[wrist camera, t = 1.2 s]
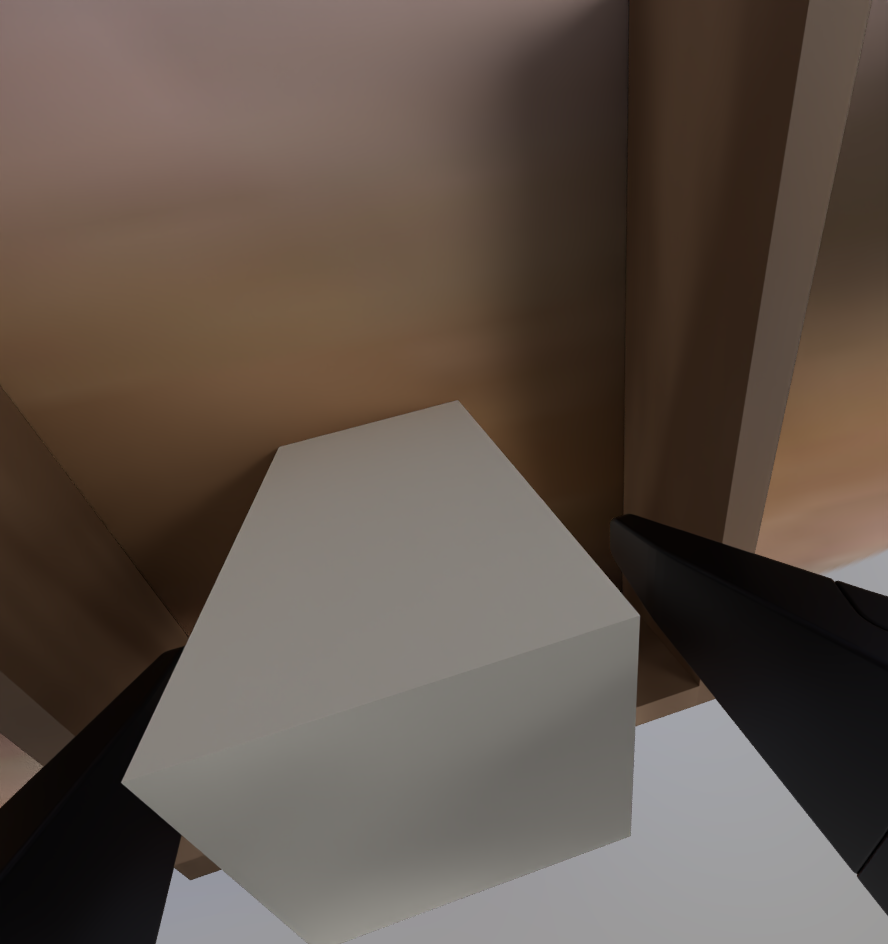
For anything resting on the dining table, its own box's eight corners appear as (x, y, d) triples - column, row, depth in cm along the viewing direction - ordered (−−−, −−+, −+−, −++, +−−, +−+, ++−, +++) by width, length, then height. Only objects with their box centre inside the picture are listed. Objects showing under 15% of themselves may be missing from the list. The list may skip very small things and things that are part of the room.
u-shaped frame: (675, -28, 8) (930, -277, 4) (644, 605, 16) (724, 695, 13) (-258, 139, 7) (-980, -27, 3) (230, 737, 15) (190, 880, 11)
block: (458, 400, 11) (640, 615, 4) (485, 540, 13) (631, 836, 6) (278, 446, 11) (121, 781, 4) (339, 583, 13) (317, 952, 6)
